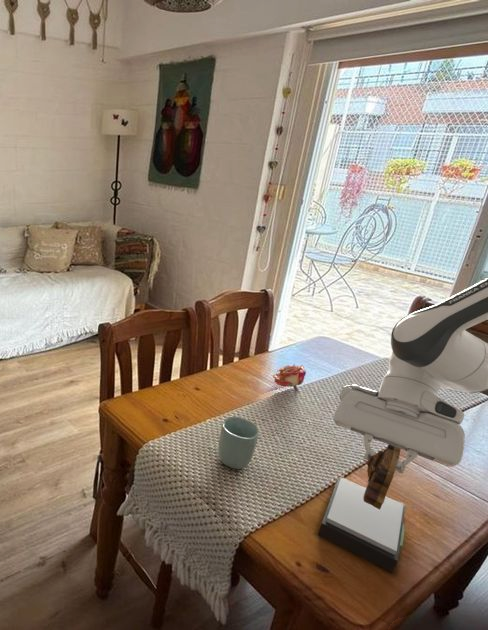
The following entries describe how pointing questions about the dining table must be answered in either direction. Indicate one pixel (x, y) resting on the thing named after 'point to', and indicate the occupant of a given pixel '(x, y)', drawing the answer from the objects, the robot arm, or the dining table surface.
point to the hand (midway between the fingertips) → (382, 465)
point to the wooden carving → (380, 475)
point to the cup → (237, 442)
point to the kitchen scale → (364, 525)
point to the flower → (290, 376)
